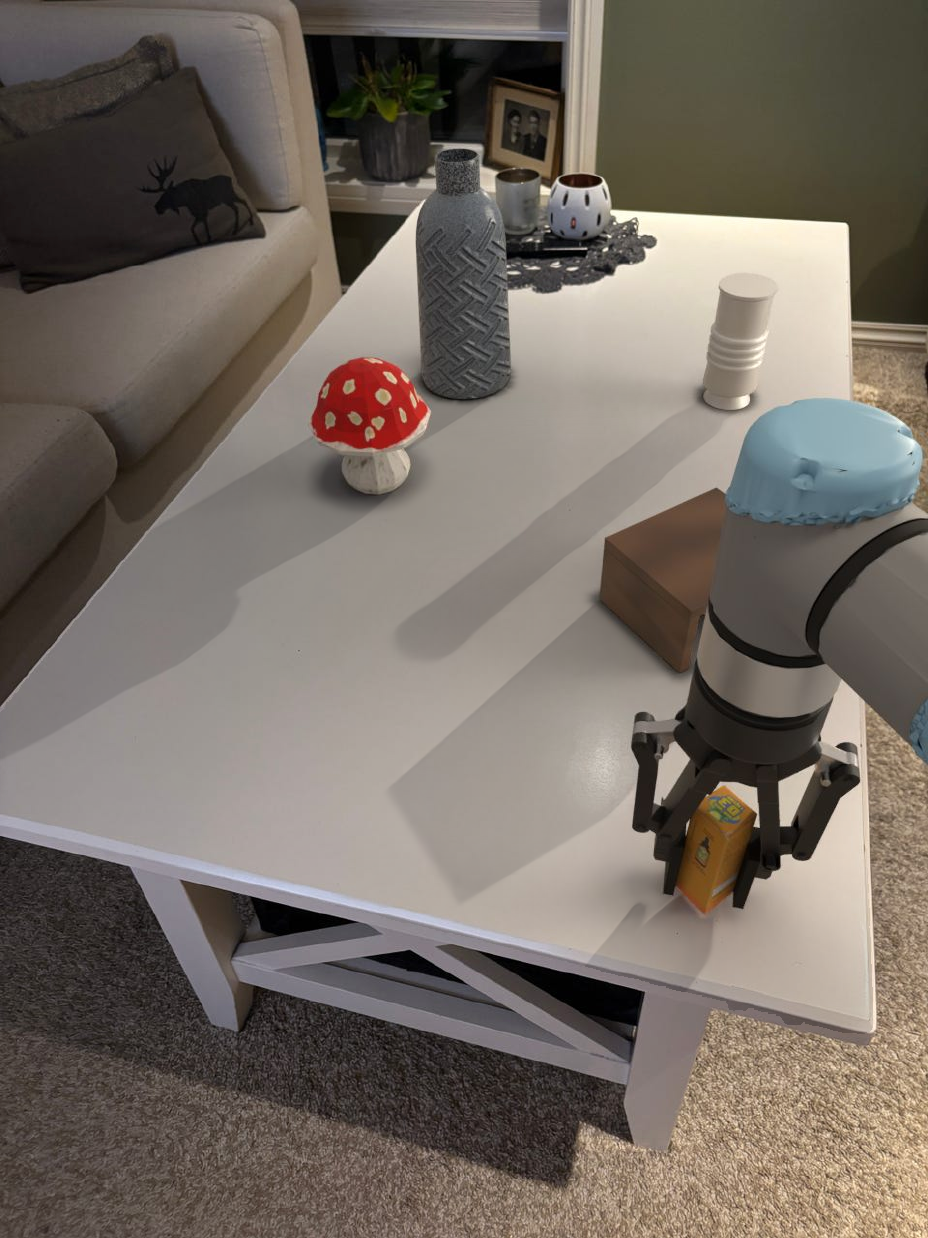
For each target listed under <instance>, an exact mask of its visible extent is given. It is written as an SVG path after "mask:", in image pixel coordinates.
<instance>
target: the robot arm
mask: <svg viewBox="0 0 928 1238" xmlns="http://www.w3.org/2000/svg"><path fill="white" fill-rule="evenodd" d="M923 459H924V457H923V450H922V447H921V446H920V444H919V443H918V441H916V440H915V438H914V436H913V433H912V430H911V428H910V427H909V426H908V425H907V424H906V423H904V422H903V421H902V420H900V419H899V418H898V417H897V416H895V415H893V414H891V413H889V412H888V411H885V410H883V409H881V408H878V407H875V406H873V405H869V404H866V403H863V402H859V401H855V400H849V399H843V398H832V397H830V398H829V397H816V398H804V399H799V400H795V401H793V402H792V403H790V404H786V405H779V406H775V407H774V408H771V409H770V410H769V411H766V412H765V413H763V414H762V415H761V416H759V417H758V418H757V419H756V420H755V421H754V422H753V423H752V424H751V426H750V427H749V429H748V430H747V432H746V434H745V436H744V438H743V441H742V445H741V448H740V451H739V456H738V458H737V461H736V465H735V468H734V471H733V474H732V478H731V482H730V485H729V486H728V488H727V489H726V491H725V494H726V495H725V503H726V505H727V506H726V511H725V516H724V521H723V527H722V532H721V537H720V542H719V548H718V553H717V558H716V563H715V569H714V574H713V579H712V585H711V590H710V594H709V599H708V606H707V610H706V613H705V614H704V620H703V623H702V629H701V632H700V633H701V634H700V637H699V643H698V646H697V647H698V648H697V651H696V657H695V658H696V659H695V662H694V666H693V671H692V676H691V679H690V685H689V689H688V690H689V691H688V694H687V695H688V696H687V701H686V703H685V705H684V706H683V707H682V708H681V709H679V710H678V711H677V713H676V714H675V716H674V719H663V720H656V719H655V717H654V716H653V714H651V713H650V712H649V711H648V712H647V711H639V712H637V713H636V714H635V715H634V720H633V727H632V735H631V742H630V750H631V751H632V754H633V756H634V759H635V760H636V762H637V764H638V770H637V777H636V778H637V779H636V788H635V795H634V806H633V814H632V821H631V822H632V823H631V828H632V830H633V831H635V832H636V833H639V834H646V833H649V832H652V833H654V834H655V835H654V843H653V852H652V853H653V854H652V856H653V858H654V860H655V861H659V862H664V863H665V864H664V875H663V887H662V894H663V895H667V896H672V897H673V896H674V895H675V891H676V888H677V887H676V882H677V878H678V874H679V870H680V866H681V862H682V858H683V854H684V850H685V840H686V834H687V824H689V821H690V818H691V817H692V815H693V814H694V813H695V811H696V810H697V808H698V807H699V805H700V804H701V802H702V801H703V799H704V798H705V797H706V796H708V795H711V794H712V793H713V792H714V791H715V790H716V789H717V787H718V785H719V784H720V782H721V783H738V784H741V785H744V786H747V787H750V788H756V797H757V806H758V820H759V821H758V822H759V823H758V824H759V827H758V826H754V827H753V830H752V833H751V836H750V839H749V842H748V845H747V849H746V852H745V855H744V858H743V861H742V865H741V868H740V871H739V874H738V877H737V880H736V883H735V886H734V889H733V892H732V906H731V907H732V908H735V909H740V910H744V908H745V906H746V902H747V900H748V897H749V895H750V892H751V889H752V887H753V884H754V881H755V879H761V880H764V881H765V880H766V881H767V880H768V879H769V878H770V877H771V876H772V875H773V872H777V871H779V870H780V869H781V867H782V860H781V859H782V858H781V856H787V855H791V857H792V859H794V860H796V861H798V862H806V861H809V860H811V858H812V857H813V855H814V853H815V851H816V849H817V847H818V844H819V842H820V841H821V839H822V837H823V835H824V832H825V831H826V828H827V827H828V824H829V823H830V820H831V819H832V816H833V815H834V812H835V810H836V808H837V806H838V804H839V803H840V801H841V798H843V797H844V796H845V795H847V794H848V793H849V792H850V791H852V790H853V789H855V788H856V787H857V786H859V784H860V783H861V773H860V772H861V771H860V770H861V769H860V761H859V760H860V759H859V750H858V746H857V745H856V744H855V743H853V742H849V741H843V742H839V743H838V744H836V745H835V746H834V745H831V744H828V743H826V742H824V741H822V736H821V735H822V734H821V733H822V731H823V728H824V725H825V723H826V720H827V717H828V715H829V713H830V710H831V707H832V704H833V702H834V697H835V694H836V693H837V692H838V690H839V687H840V684H841V681H843V682H844V683H845V684H846V685H847V686H848V687H849V688H850V689H851V690H852V691H853V692H855V693H856V694H857V695H858V696H859V697H860V699H862V700H863V701H864V703H866V704H867V705H868V706H869V708H871V709H872V710H873V711H874V712H875V713H876V714H877V715H878V716H879V717H880V718H881V719H882V720H883V721H884V722H885V723H886V724H887V725H888V726H889V727H890V728H891V729H892V730H893V731H894V732H895V733H896V734H897V735H898V736H900V737H901V738H902V739H903V740H904V741H905V742H906V743H907V744H908V745H909V746H910V747H911V748H912V749H913V751H914V754H915V756H916V757H918V758H919V759H920V760H922V762H923V763H925V764H926V765H927V766H928V513H927V512H926V511H924V510H923V509H921V508H920V507H918V506H917V505H916V504H915V503H914V502H913V501H914V499H915V495H916V494H917V491H918V488H919V487H920V485H921V482H920V480H919V476H920V473H921V469H922V466H923ZM675 742H676V744H677V745H678V746H679V748H680V749H681V750H682V751H683V752H684V754H685V755H686V756H687V757H688V758H689V760H688V762H687V764H686V765H685V767H684V768H683V770H682V772H681V773H680V774H679V776H678V777H677V779H676V781H675V783H674V785H672V788H671V789H670V790H669V792H668V794H667V795H666V797H665V798H664V796H662V797H661V800H660V804H658V803H655V796H656V795H655V794H656V789H657V783H658V782H657V780H658V774H659V766H660V760H663V758H664V754H666V753H668V752H669V749H670V745H671V744H673V743H675ZM812 766H814V770H813V772H812V775H811V777H810V779H809V781H808V784H807V786H806V788H805V791H804V793H803V795H802V797H801V800H800V802H799V804H798V806H797V809H796V811H795V813H794V815H793V818H792V820H791V823H790V825H783V826H782V825H781V815H780V814H781V813H780V812H781V811H780V786H779V785H780V783H779V782H781V781H784V780H785V779H788V778H789V777H792V776H793V775H796V774H798V773H800V772H802V771H804V770H806V769H808V768H810V767H812Z"/></svg>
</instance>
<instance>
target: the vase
mask: <svg viewBox="0 0 928 1238" xmlns="http://www.w3.org/2000/svg"><path fill="white" fill-rule="evenodd" d="M434 172H435V173H434V174H435V186H436V187H435V190H433V191H432V192H431V194H430V195H428V197H427V198H426V199H425V200H424V201H423V204H422V205H421V207H420V209H419V212H418V215H417V220H416V225H415V260H416V262H415V263H416V282H417V285H416V286H417V305H418V328H419V329H418V330H419V344H420V345H419V348H420V349H419V350H420V369H421V377H422V380H423V382H424V385H425V386H426V387H427V388H428V389H429V391H431V392H433V393H434V394H436V395H439V396H441V397H445V398H450V399H457V400H458V399H459V400H468V399H469V400H470V399H477V398H482V397H487V396H489V395H492V394H494V393H496V392H498V391H500V390H501V389H503V388H504V387H505V386H506V385H507V384H508V382H509V379H510V377H511V374H512V355H511V333H510V332H511V331H510V310H509V309H510V307H509V287H508V286H509V285H508V284H509V283H508V263H507V240H506V230H505V224H504V219H503V215H502V212H501V210H500V207H499V205H498V203H497V202H496V200H495V199H494V198H493V196H491V194H489V193H488V191H486V190H485V189H484V188H483V187H482V186H481V173H480V154H479V152H478V151H476V150H474V149H469V148H461V147H459V148H450V149H444V150H441V151H439V152H437V153H436V154H435V156H434Z"/></svg>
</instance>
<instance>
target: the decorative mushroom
mask: <svg viewBox="0 0 928 1238" xmlns="http://www.w3.org/2000/svg"><path fill="white" fill-rule="evenodd" d="M317 394H318V396H317V402H316V406H315V407H314V410H313V412H312V414H311V416H310V418H309V421H308V422H307V426H308V428H309V430H310V432H311V433H312V435H313V437H314V439H315V441H316V443H317V444H318V446H321V447H323V448H325V449H328V450H330V451H332V452H334V453H336V454H339V455H341V456H343V459H342V463H341V472H342V475H343V477H344V479H345V480H346V482H347V484H348V485H349V486H351V487H352V488H353V489H354V490H356V491H358V492H360V493H363V494H364V495H383V494H387V493H391V492H393V491H394V490H396V489H398V487H400V486H402V485H403V483H404V482H405V481H406V479H407V477H408V475H409V471H410V469H411V460H410V457H409V455H408V453H407V452H406V450H405V448H407V447H408V446H409V445H411V444H413V443H414V442H415V441H417V440H418V439H419V438H420V437H422V436H424V434H425V432H426V430H427V426H428V424H429V420H430V417H431V414H432V410H431V409H430V407H429V406H428V405H427V403H426V402H425V400H423V398H422V396H420V395H419V394H418V392H417V390H416V388H415V386H414V384H413V383H412V381H411V379H410V378H409V377H408V376H407V374H406V373H405V371H403V370H402V369H401V368H400V367H399V366H397V365H396V364H393V363H391V362H388V361H386V360H384V359H381V358H378V357H370V356H369V357H368V356H367V357H365V356H362V357H357V358H353V359H349V360H347V361H345V362H344V363H342V364H340V365H339V366H337V367H336V368H334V369H333V370H331V371H330V372H329V374H328V375H327V376H326V378H325V380H324V382H323V384H322V386H321V388H320V390H319V392H318V393H317Z"/></svg>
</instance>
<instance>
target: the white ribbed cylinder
mask: <svg viewBox="0 0 928 1238" xmlns="http://www.w3.org/2000/svg"><path fill="white" fill-rule="evenodd" d="M718 290H719V294H718V302H717V307H716V312H715V318H714V322H713V323H712V325H711V326H710V334H709V337H708V344H707V351H706V355H705V357H706V366H705V370H704V373H703V376H702V385H703V387H704V388H705V391H704V393H703V400H704V402H706V404H708V405H709V406H711V407H713V408H716V409H719V410H724V411H735V410H740V409H743V408H745V407H747V406H748V405H750V403H751V397H750V395H751V394H752V393H753V392H755V391H756V389H757V386H758V379H759V372H760V371H759V370H760V367H761V366H762V364H763V361H764V355H765V351H766V346H767V342H768V341H767V340H768V337H769V334H770V332H769V328H768V326H769V321H770V316H771V312H772V307H773V302H774V297H775V295H777V293H778V290H779V284H778V283H777V281H775V280H774V279H773V278H771V277H769V276H766V275H762V274H759V273H754V272H737V273H731V274H727V275H725V276H724V277H722V278H720V279H719V281H718Z"/></svg>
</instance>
